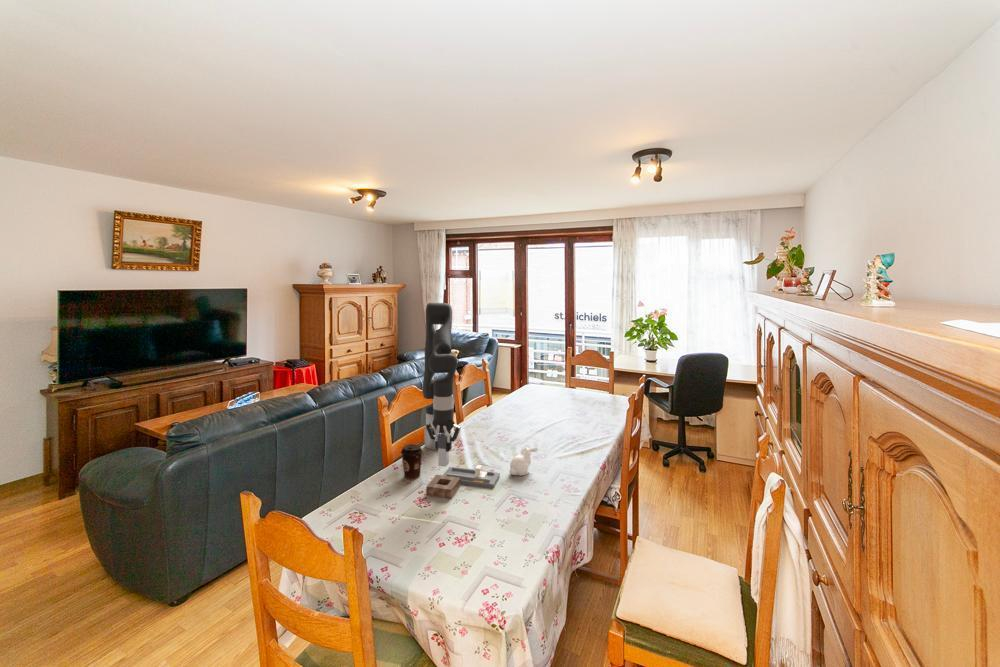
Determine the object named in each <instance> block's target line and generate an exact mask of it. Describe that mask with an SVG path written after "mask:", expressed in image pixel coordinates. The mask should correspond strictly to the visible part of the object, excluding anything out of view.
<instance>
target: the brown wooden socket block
mask: <svg viewBox="0 0 1000 667" xmlns="http://www.w3.org/2000/svg"><path fill="white" fill-rule="evenodd" d="M460 487H461V484H460V478H459V477H451V476H443V474H441V475H440V474H436V475H434V477H433V478H432V479H431V480H430V482H428V484H427V485H426V487H425V489H426V490H425V491H426V492H425V493H426V496H429V497H437V498H443V499H449V500H450V499H451V500H452V499H453V498H454V496H455V494H456V493H457V492H458V490H459V489H460Z"/></svg>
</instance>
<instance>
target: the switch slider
mask: <svg viewBox="0 0 1000 667" xmlns="http://www.w3.org/2000/svg"><path fill="white" fill-rule="evenodd" d="M474 469H475V477H480V478H486V476H487V472H483V471H484V470H483V464H477V465H476V467H474ZM482 470H483V471H482Z"/></svg>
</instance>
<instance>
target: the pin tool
mask: <svg viewBox="0 0 1000 667" xmlns="http://www.w3.org/2000/svg"><path fill="white" fill-rule="evenodd" d="M437 440H438V452H437V453H438V454H437V456H438V457H437V458H438V460H437V461H438V463H437V466H438V467H445V468H446V467H447V466H448V465H449V463H450V462H449V461H450V460H449V459H450V458H449V452H450V451H449V452H447V437H446V436H445V434H444V433H441V434H439V435H437Z"/></svg>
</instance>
